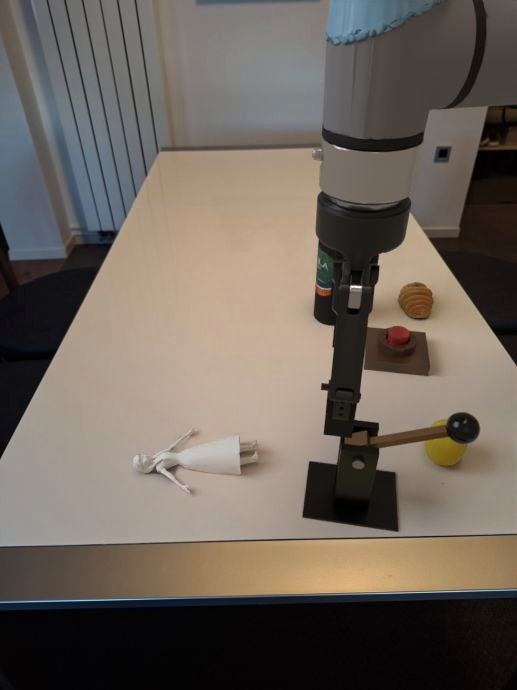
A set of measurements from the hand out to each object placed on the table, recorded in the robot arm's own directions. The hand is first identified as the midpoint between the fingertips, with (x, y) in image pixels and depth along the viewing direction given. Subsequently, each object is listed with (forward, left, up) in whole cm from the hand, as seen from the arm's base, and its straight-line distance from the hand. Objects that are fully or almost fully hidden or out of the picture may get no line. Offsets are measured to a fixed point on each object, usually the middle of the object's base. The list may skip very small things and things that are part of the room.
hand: (341, 386), depth 53 cm
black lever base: (-3, -1, -22) cm, 22 cm away
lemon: (-16, -10, -22) cm, 28 cm away
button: (-10, -33, -18) cm, 39 cm away
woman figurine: (+19, -3, -22) cm, 29 cm away
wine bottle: (+2, -44, -22) cm, 49 cm away
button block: (-10, -33, -22) cm, 41 cm away
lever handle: (-9, -1, -10) cm, 13 cm away
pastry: (-15, -50, -22) cm, 57 cm away
